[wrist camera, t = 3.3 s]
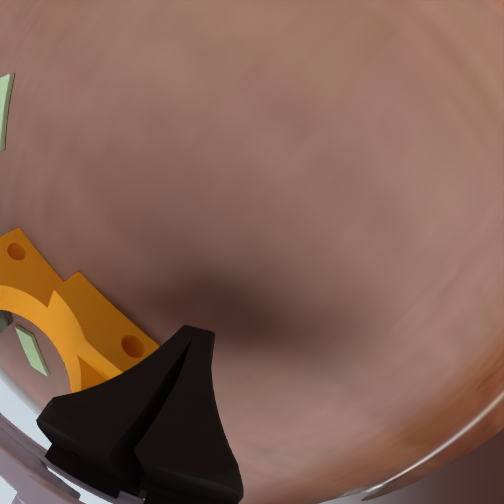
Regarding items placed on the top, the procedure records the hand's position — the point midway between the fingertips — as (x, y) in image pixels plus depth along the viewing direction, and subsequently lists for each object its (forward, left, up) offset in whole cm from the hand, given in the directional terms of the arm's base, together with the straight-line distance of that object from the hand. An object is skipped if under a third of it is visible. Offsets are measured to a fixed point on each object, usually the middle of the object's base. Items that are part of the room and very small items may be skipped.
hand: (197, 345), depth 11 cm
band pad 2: (-16, -10, -2) cm, 19 cm away
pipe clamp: (-9, -1, -2) cm, 9 cm away
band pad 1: (-16, +10, -2) cm, 19 cm away
